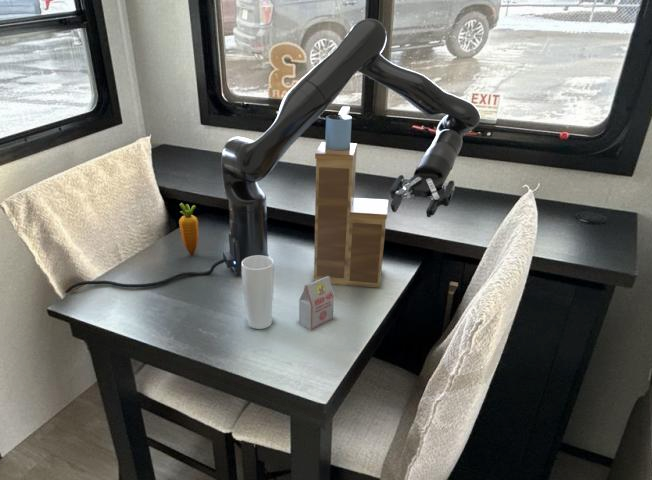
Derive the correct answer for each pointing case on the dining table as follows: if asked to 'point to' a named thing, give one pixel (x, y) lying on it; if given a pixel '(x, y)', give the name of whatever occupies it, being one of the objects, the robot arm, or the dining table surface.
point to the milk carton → (316, 303)
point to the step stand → (346, 223)
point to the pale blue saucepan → (338, 130)
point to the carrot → (189, 228)
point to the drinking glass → (258, 290)
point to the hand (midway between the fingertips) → (410, 212)
